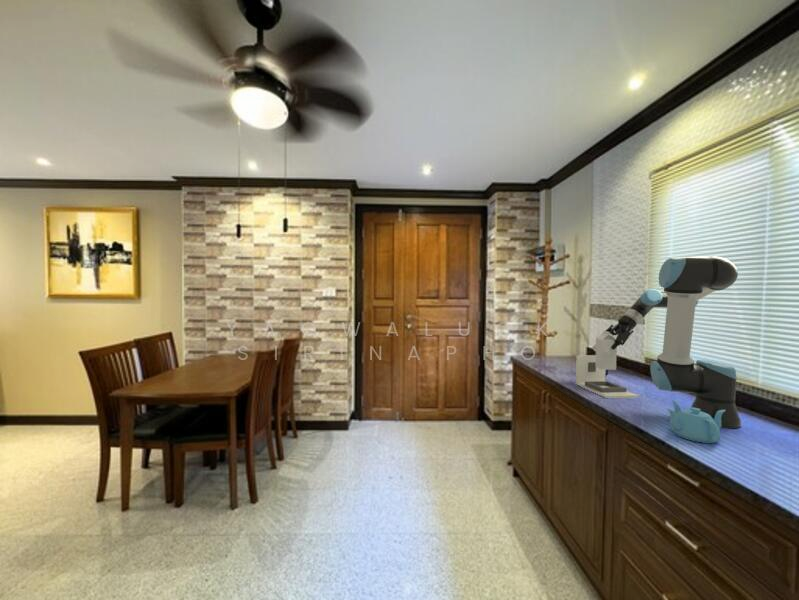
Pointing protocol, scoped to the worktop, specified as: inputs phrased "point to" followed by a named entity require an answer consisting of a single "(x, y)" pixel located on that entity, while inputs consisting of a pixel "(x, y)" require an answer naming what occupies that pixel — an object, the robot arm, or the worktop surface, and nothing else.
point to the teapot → (695, 424)
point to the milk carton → (601, 357)
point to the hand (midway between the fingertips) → (599, 351)
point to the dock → (597, 379)
